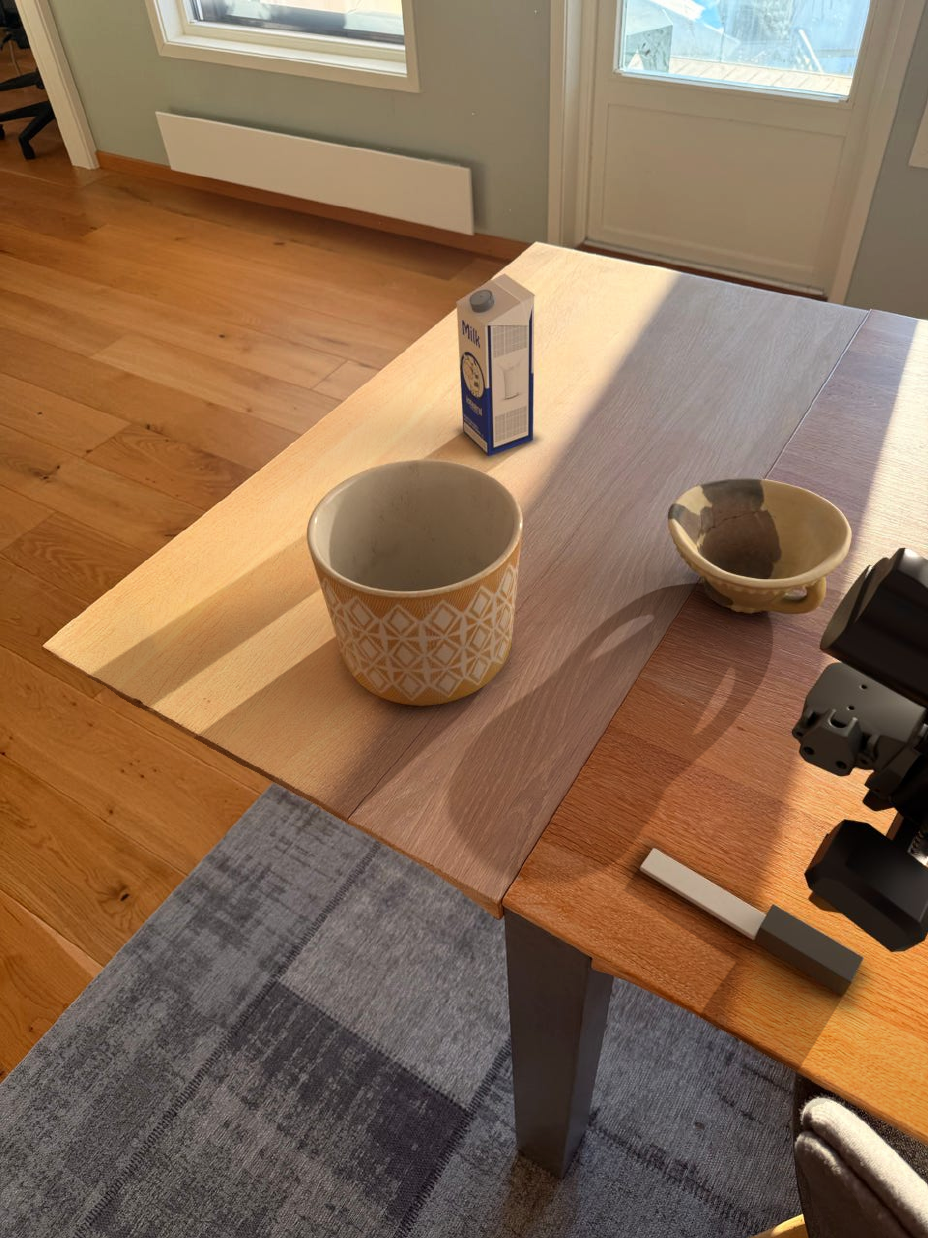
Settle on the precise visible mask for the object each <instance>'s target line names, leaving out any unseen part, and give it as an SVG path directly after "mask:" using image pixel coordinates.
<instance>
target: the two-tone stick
mask: <svg viewBox="0 0 928 1238" xmlns="http://www.w3.org/2000/svg"><path fill="white" fill-rule="evenodd" d="M639 871H640V872H641V873H643V874H645V875H646V876H648V877H650V878H652V879H653V880H655V881H657V882H658V883H660V884H661V885H663V886H664V887H666V888H668V889H669V890H671V891H673V892H674V893H675V894H678V895H679V896H681V897H683V898H684V899H686V900H687V901H689V902H690V903H693V904H694V905H695V906H697V907H698V908H700V909H702V910H703V911H705V912H707V913H708V914H710V915H712V916H713V917H715V918H716V919H718V920H720V922H723V923H725V924H726V925H727V926H730V927H731V928H733V929H734V930H736V931H738V932H739V933H740V934H742V935H744V936H746V937H748V938H749V939H750V940H752V941H753V943H755V944H757V945H759V946H760V947H762V948H763V949H764V950H767V951H768V952H770V953H772V954H773V955H774V956H776V957H778V958H780V959H781V960H783V961H784V962H786V963H788V964H789V965H791V966H792V967H794V968H795V969H797V970H799V971H801V972H802V973H804V974H806V975H807V976H808V977H810V978H812V979H814V980H815V981H816V982H818V983H820V984H822V985H823V986H825V987H827V988H828V989H830V990H832V991H833V992H835V993H836V994H838V995H839V996H841V997H845V995H846V993H847V992H848V990H849V988H850V987H851V985H852V983H853V981H854V979H855V978H856V975H857V973H858V971H859V969H860V967H861V965H862V963H863V961H864V959H865V957H864V956H862V955H861V954H860V953H858V952H856V951H854V950H852V949H851V948H849V947H847V946H846V945H844V944H842V943H841V942H839V941H837V940H835V939H834V938H832V937H830V936H829V935H827V934H825V933H823V932H822V931H820V930H818V929H816V928H815V927H814V926H812V925H810V924H808V923H806V922H805V921H804V920H801V919H800V918H798V917H796V916H795V915H793V914H791V913H790V912H788V911H786V910H784V909H783V908H781V907H779V906H778V905H776V904H772V905H771V906H770V908H769V909H768V911H767V913H764V912H762V911H760V910H758V909H757V908H755V907H753V906H752V905H751V904H748V903H747V902H746V901H744V900H742V899H740V898H738V897H737V896H735V895H733V894H732V893H730V892H729V891H727V890H725V889H724V888H722V887H721V886H719V885H717V884H715V883H714V882H712V881H710V880H708V879H707V878H705V877H703V876H702V875H701V874H699V873H697V872H695V871H693V870H691V869H690V868H688V867H687V866H685V865H684V864H682V863H680V862H678V861H676V860H675V859H673V858H672V857H670V856H668V855H667V854H665V853H663V852H661V851H660V850H658V849H657V848H655V847H653V848H652V849H651V850H650V851H649V854H648V855H647V857H646V858H645V859H644V860H643V862H642V863H641V865H640V867H639Z"/></svg>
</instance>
